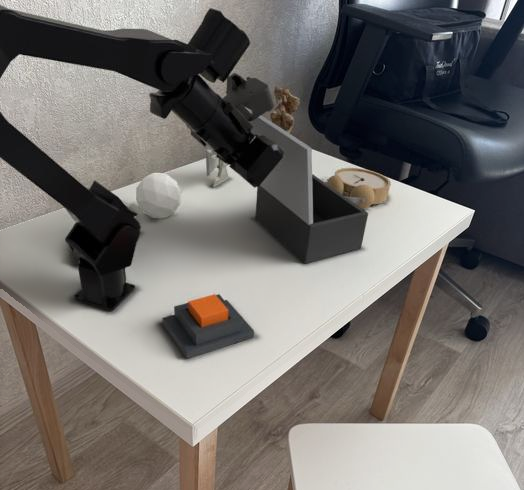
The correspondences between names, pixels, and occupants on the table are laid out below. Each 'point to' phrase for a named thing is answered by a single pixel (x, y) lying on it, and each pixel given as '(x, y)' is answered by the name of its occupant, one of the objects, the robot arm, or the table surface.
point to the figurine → (284, 109)
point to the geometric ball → (158, 195)
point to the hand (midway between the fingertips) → (265, 174)
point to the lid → (289, 170)
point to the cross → (212, 164)
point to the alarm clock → (360, 186)
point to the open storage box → (314, 223)
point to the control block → (206, 331)
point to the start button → (208, 310)
